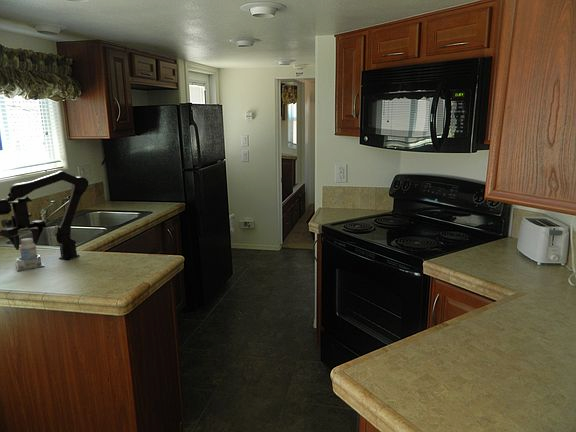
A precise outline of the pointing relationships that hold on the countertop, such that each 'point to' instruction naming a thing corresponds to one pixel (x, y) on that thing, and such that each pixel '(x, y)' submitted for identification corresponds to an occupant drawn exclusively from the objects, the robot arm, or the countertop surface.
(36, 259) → the grey open tray
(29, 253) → the pill bottle
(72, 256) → the robot arm
